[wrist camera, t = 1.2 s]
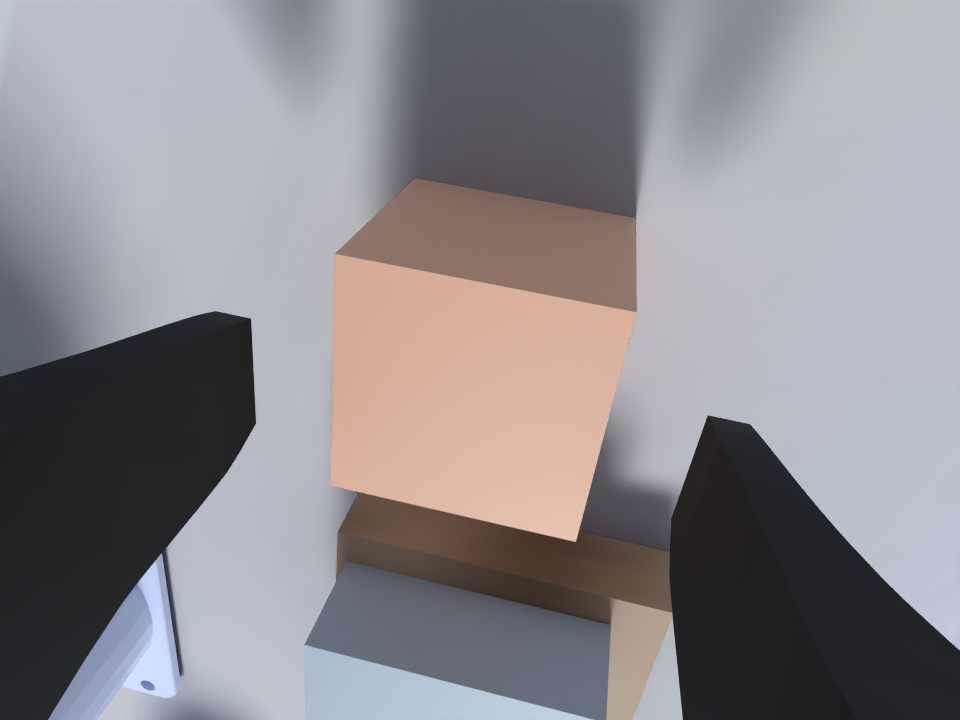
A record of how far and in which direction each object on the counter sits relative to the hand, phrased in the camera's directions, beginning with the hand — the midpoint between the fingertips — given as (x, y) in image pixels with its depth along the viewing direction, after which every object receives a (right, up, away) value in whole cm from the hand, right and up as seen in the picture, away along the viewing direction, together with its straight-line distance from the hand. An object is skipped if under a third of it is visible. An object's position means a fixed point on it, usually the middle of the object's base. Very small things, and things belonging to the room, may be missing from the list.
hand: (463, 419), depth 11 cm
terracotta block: (+1, +2, +4) cm, 5 cm away
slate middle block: (0, -7, +7) cm, 10 cm away
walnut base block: (+1, -6, +10) cm, 11 cm away
